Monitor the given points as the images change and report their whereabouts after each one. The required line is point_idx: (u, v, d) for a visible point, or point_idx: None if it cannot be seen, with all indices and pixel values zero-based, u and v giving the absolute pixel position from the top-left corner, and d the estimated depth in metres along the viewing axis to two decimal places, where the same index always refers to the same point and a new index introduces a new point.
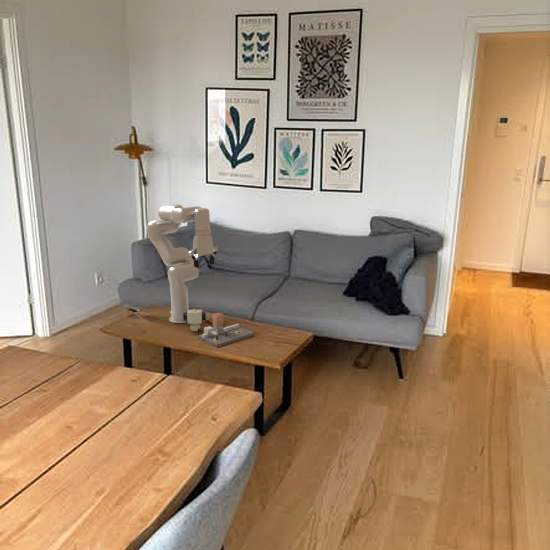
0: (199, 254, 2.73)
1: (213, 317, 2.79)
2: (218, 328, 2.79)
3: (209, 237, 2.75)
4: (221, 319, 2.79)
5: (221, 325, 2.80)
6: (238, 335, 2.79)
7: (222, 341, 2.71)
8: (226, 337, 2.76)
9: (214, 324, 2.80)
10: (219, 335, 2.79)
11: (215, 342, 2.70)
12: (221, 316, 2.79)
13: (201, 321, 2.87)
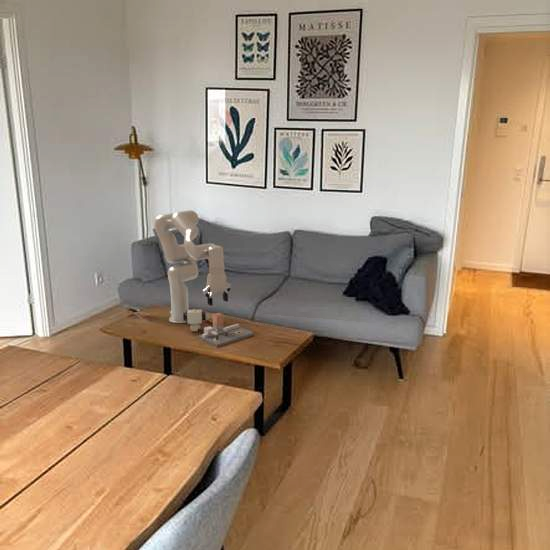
0: (213, 292, 2.72)
1: (213, 317, 2.79)
2: (218, 328, 2.79)
3: (223, 274, 2.74)
4: (221, 319, 2.79)
5: (221, 325, 2.80)
6: (238, 335, 2.79)
7: (222, 341, 2.71)
8: (226, 337, 2.76)
9: (214, 324, 2.80)
10: (219, 335, 2.79)
11: (215, 342, 2.70)
12: (221, 316, 2.79)
13: (201, 321, 2.87)
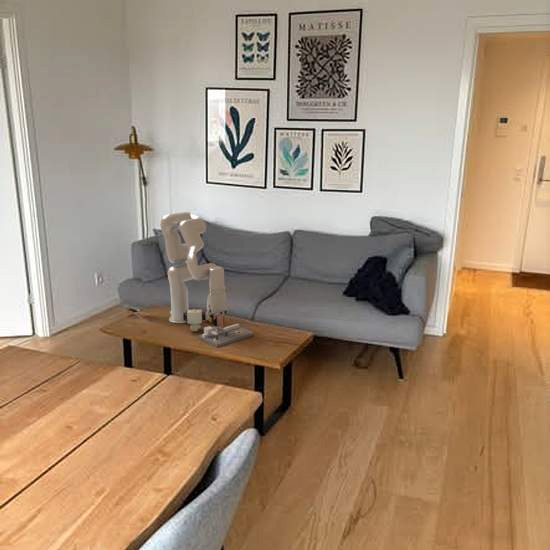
0: (213, 312, 2.75)
1: None
2: (218, 328, 2.79)
3: (223, 295, 2.77)
4: (221, 319, 2.79)
5: (221, 325, 2.80)
6: (238, 335, 2.79)
7: (222, 341, 2.71)
8: (226, 337, 2.76)
9: None
10: (219, 335, 2.79)
11: (215, 342, 2.70)
12: (221, 316, 2.79)
13: (201, 321, 2.87)
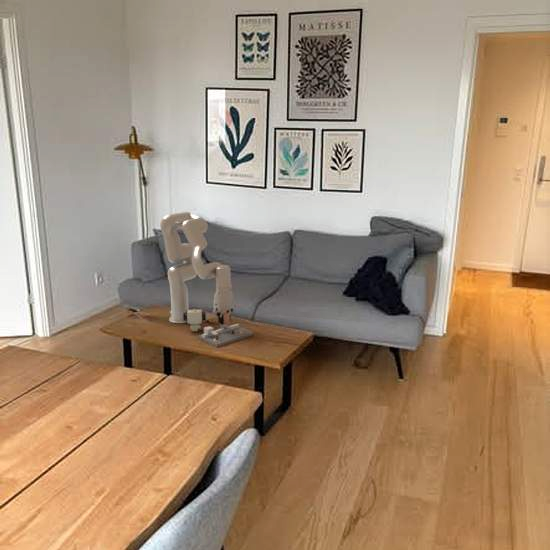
0: (220, 310, 2.78)
1: None
2: (225, 326, 2.82)
3: (230, 293, 2.80)
4: (227, 317, 2.82)
5: (227, 323, 2.83)
6: (238, 335, 2.79)
7: (222, 341, 2.71)
8: (226, 337, 2.76)
9: None
10: (219, 335, 2.79)
11: (215, 342, 2.70)
12: (227, 314, 2.82)
13: (201, 321, 2.87)
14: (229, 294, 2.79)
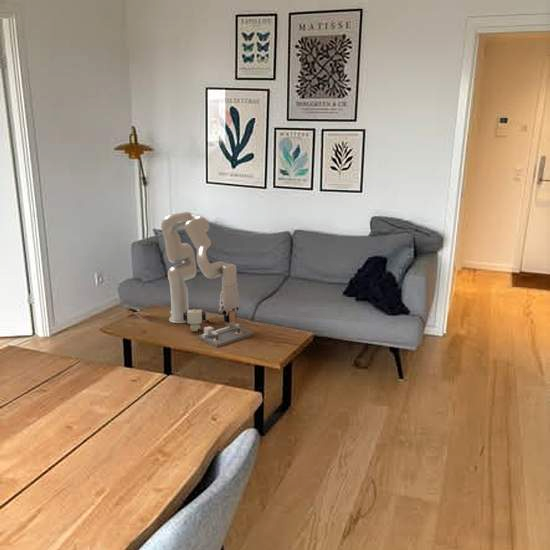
0: (226, 309, 2.80)
1: None
2: (230, 324, 2.85)
3: (235, 292, 2.82)
4: (233, 315, 2.85)
5: (233, 321, 2.85)
6: (238, 335, 2.79)
7: (222, 341, 2.71)
8: (226, 337, 2.76)
9: None
10: (219, 335, 2.79)
11: (215, 342, 2.70)
12: (233, 313, 2.84)
13: (201, 321, 2.87)
14: (235, 293, 2.82)
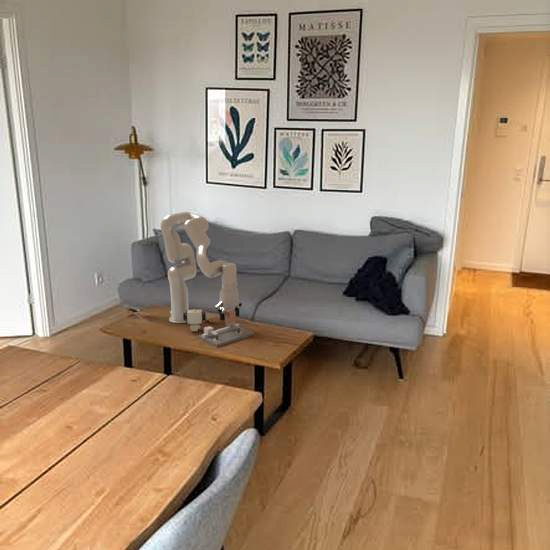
0: (225, 308, 2.80)
1: (225, 313, 2.85)
2: (230, 324, 2.85)
3: (235, 291, 2.82)
4: (233, 315, 2.85)
5: (233, 321, 2.85)
6: (238, 335, 2.79)
7: (222, 341, 2.71)
8: (226, 337, 2.76)
9: (226, 320, 2.85)
10: (219, 335, 2.79)
11: (215, 342, 2.70)
12: (233, 313, 2.84)
13: (201, 321, 2.87)
14: (235, 292, 2.82)
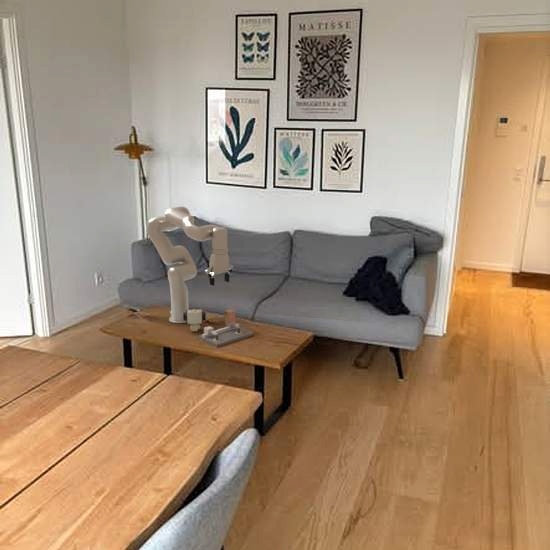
0: (215, 272, 2.77)
1: (225, 313, 2.85)
2: (230, 324, 2.85)
3: (226, 256, 2.79)
4: (233, 315, 2.85)
5: (233, 321, 2.85)
6: (238, 335, 2.79)
7: (222, 341, 2.71)
8: (226, 337, 2.76)
9: (226, 320, 2.85)
10: (219, 335, 2.79)
11: (215, 342, 2.70)
12: (233, 313, 2.84)
13: (201, 321, 2.87)
14: (225, 256, 2.79)
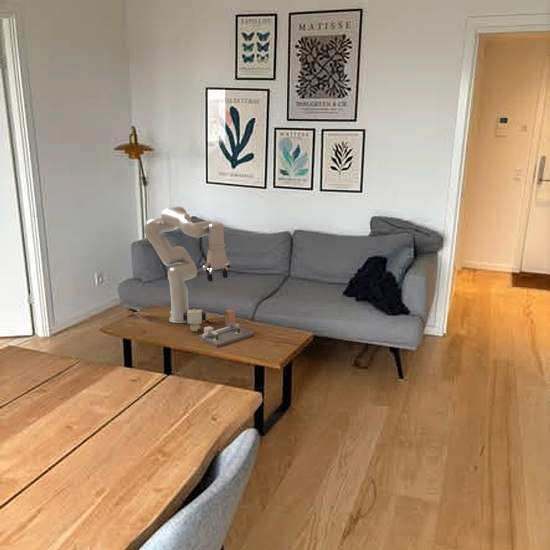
0: (213, 268, 2.77)
1: (225, 313, 2.85)
2: (230, 324, 2.85)
3: (223, 251, 2.79)
4: (233, 315, 2.85)
5: (233, 321, 2.85)
6: (238, 335, 2.79)
7: (222, 341, 2.71)
8: (226, 337, 2.76)
9: (226, 320, 2.85)
10: (219, 335, 2.79)
11: (215, 342, 2.70)
12: (233, 313, 2.84)
13: (201, 321, 2.87)
14: (222, 252, 2.79)
